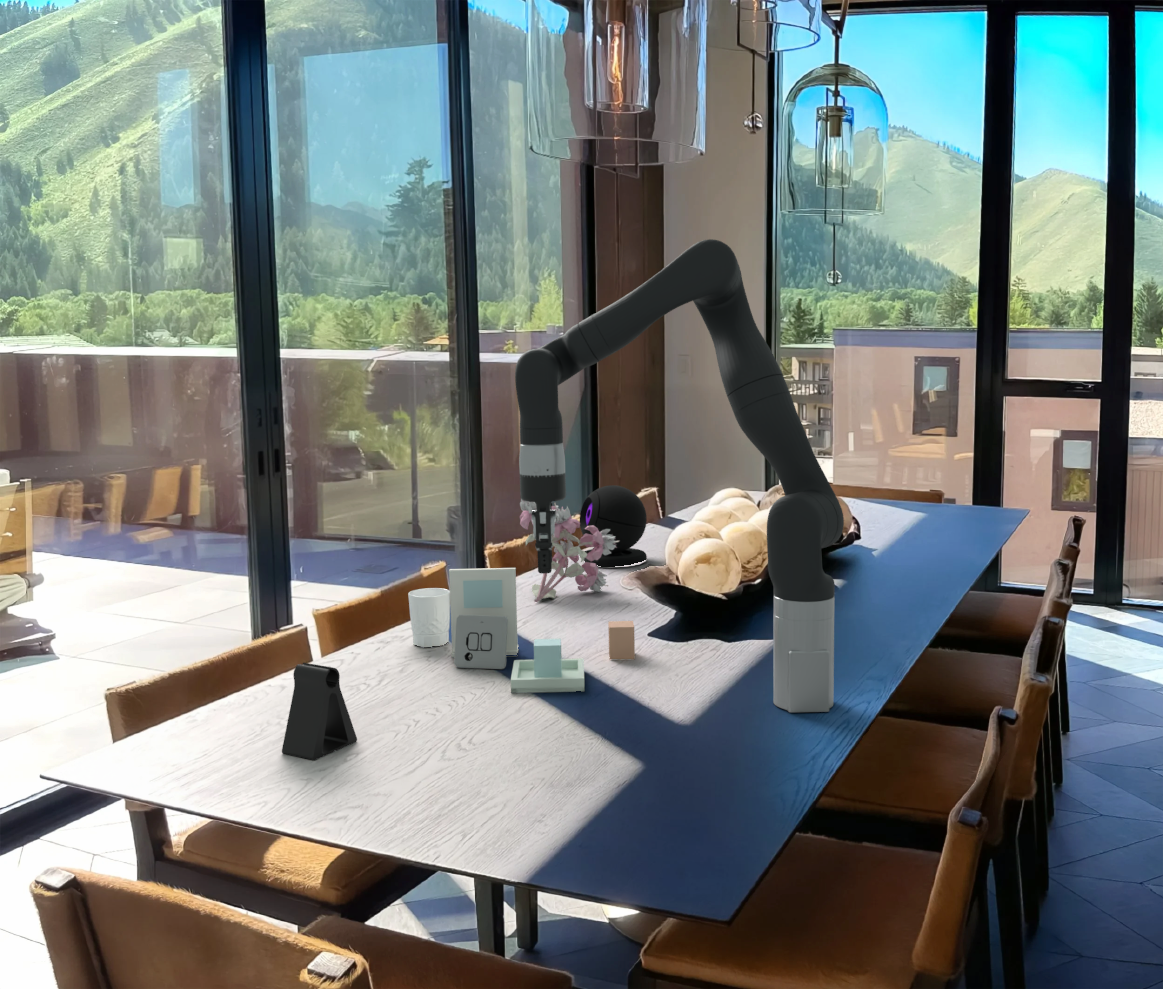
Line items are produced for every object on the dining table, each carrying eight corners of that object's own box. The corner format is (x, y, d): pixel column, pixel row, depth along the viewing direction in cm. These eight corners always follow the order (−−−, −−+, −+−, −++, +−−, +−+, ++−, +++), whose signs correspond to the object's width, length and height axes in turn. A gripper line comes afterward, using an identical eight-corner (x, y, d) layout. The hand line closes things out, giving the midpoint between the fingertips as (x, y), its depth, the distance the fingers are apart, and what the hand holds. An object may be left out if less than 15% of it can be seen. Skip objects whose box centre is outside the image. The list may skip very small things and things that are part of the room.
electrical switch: (453, 668, 204) (453, 616, 204) (462, 663, 209) (462, 612, 209) (504, 671, 202) (504, 618, 202) (512, 665, 207) (512, 614, 207)
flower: (605, 604, 245) (620, 492, 252) (501, 592, 248) (519, 482, 255) (612, 624, 264) (627, 519, 271) (516, 612, 267) (533, 509, 274)
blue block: (561, 680, 193) (560, 645, 192) (534, 681, 193) (533, 646, 192) (561, 672, 197) (560, 638, 196) (535, 673, 197) (534, 639, 196)
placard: (517, 656, 211) (515, 569, 209) (451, 657, 211) (448, 571, 209) (518, 648, 216) (516, 564, 214) (454, 650, 216) (451, 566, 214)
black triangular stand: (326, 735, 170) (322, 655, 169) (357, 741, 167) (353, 660, 166) (281, 754, 163) (277, 671, 161) (312, 761, 160) (308, 676, 158)
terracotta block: (634, 659, 208) (634, 627, 207) (609, 660, 208) (609, 627, 207) (633, 653, 212) (633, 621, 211) (608, 653, 212) (608, 621, 211)
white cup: (401, 646, 220) (399, 594, 219) (426, 636, 227) (424, 586, 226) (436, 650, 216) (434, 598, 215) (459, 640, 223) (458, 589, 222)
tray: (584, 691, 189) (584, 678, 189) (511, 693, 189) (510, 679, 189) (583, 670, 201) (583, 658, 201) (514, 672, 201) (514, 660, 201)
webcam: (572, 558, 306) (571, 483, 303) (633, 554, 311) (632, 480, 308) (593, 570, 289) (591, 491, 287) (656, 565, 294) (656, 487, 292)
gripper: (565, 475, 183) (568, 575, 185) (565, 466, 197) (567, 559, 199) (517, 476, 183) (521, 577, 185) (521, 467, 197) (524, 561, 199)
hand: (545, 568), depth 192 cm, fingers open, 8 cm apart
